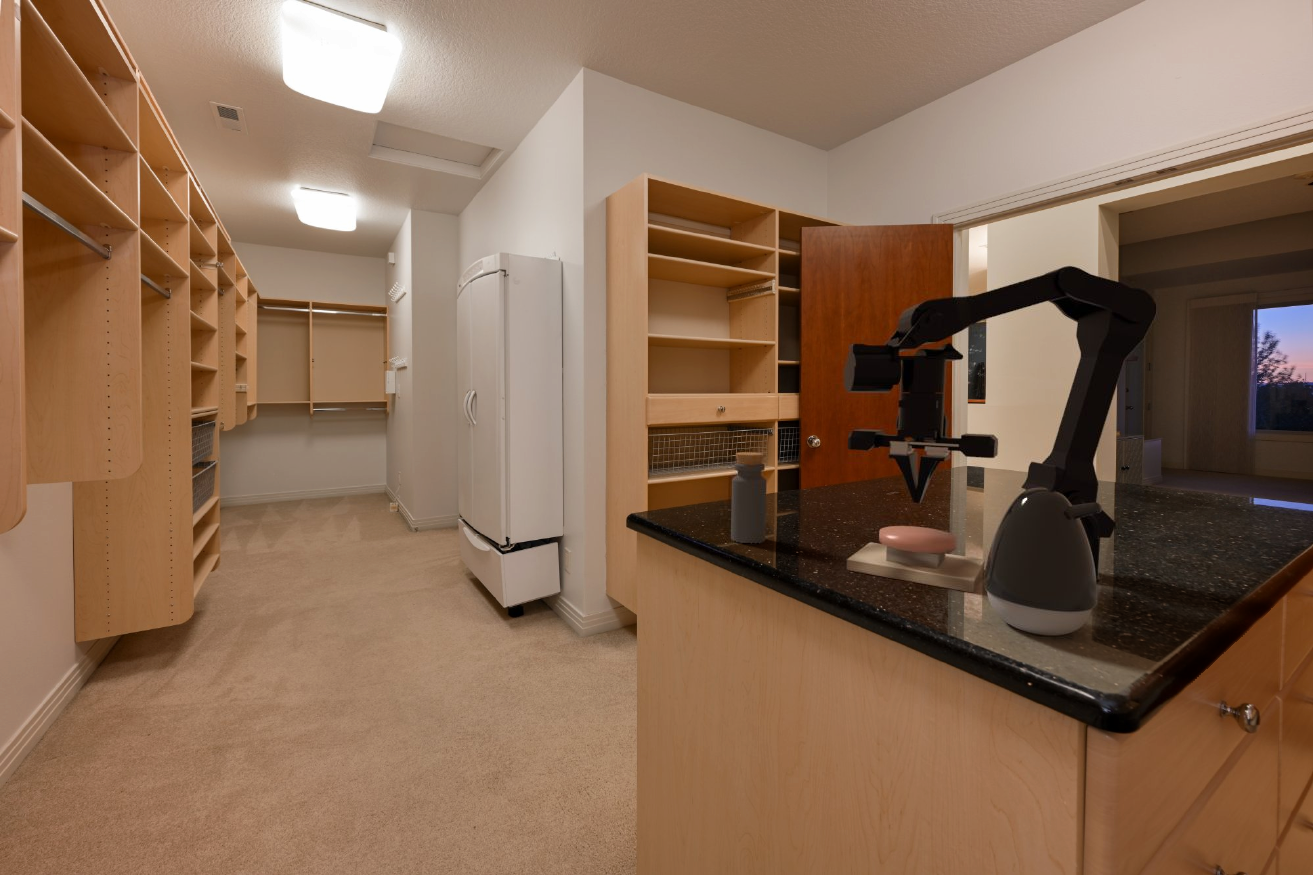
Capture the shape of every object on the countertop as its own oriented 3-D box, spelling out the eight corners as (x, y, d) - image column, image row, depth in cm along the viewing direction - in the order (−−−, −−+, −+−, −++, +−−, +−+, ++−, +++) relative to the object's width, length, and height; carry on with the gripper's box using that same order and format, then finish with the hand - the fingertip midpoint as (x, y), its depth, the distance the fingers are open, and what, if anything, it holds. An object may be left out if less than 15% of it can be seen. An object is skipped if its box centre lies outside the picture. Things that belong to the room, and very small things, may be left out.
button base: (984, 569, 83) (985, 545, 82) (973, 592, 73) (974, 565, 73) (869, 551, 92) (870, 529, 92) (846, 569, 82) (847, 545, 82)
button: (960, 555, 83) (961, 532, 83) (949, 572, 75) (950, 546, 75) (888, 544, 89) (889, 523, 89) (870, 559, 81) (871, 535, 81)
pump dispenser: (1067, 655, 55) (1076, 499, 54) (962, 619, 64) (969, 484, 63) (1115, 633, 60) (1124, 491, 59) (1012, 602, 69) (1019, 478, 68)
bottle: (765, 545, 95) (767, 455, 94) (729, 543, 96) (731, 454, 95) (765, 536, 101) (767, 452, 100) (732, 535, 102) (733, 451, 101)
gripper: (1004, 394, 82) (998, 502, 83) (869, 393, 92) (865, 489, 94) (996, 393, 73) (990, 515, 74) (848, 392, 83) (844, 498, 85)
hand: (917, 503), depth 82 cm, fingers closed
